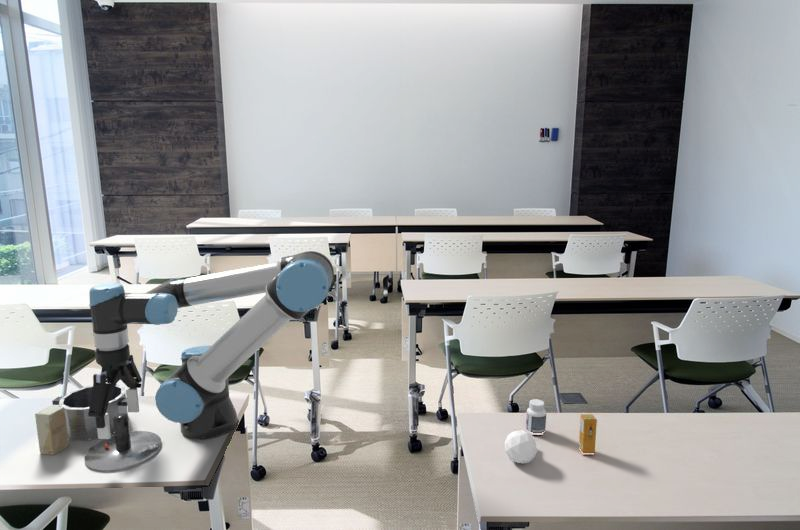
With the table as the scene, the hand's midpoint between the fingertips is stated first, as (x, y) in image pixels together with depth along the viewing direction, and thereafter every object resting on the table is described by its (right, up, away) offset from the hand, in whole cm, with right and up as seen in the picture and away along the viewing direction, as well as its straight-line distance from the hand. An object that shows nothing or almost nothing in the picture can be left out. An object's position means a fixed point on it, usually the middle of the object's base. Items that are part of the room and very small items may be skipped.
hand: (119, 424), depth 134 cm
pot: (-14, -5, +15) cm, 21 cm away
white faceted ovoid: (+103, -8, 0) cm, 103 cm away
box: (-18, -7, +3) cm, 20 cm away
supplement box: (+120, -8, +2) cm, 121 cm away
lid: (0, -8, +2) cm, 8 cm away
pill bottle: (+110, -6, +12) cm, 111 cm away
